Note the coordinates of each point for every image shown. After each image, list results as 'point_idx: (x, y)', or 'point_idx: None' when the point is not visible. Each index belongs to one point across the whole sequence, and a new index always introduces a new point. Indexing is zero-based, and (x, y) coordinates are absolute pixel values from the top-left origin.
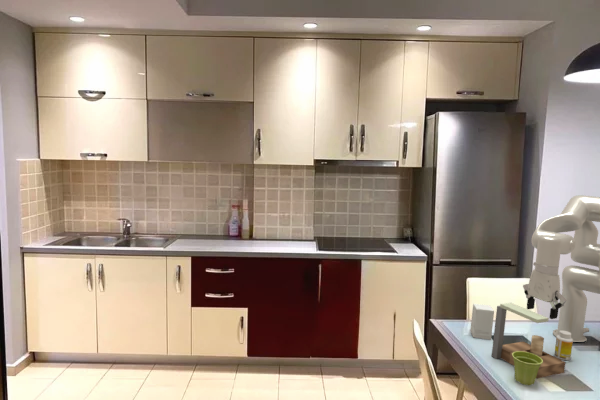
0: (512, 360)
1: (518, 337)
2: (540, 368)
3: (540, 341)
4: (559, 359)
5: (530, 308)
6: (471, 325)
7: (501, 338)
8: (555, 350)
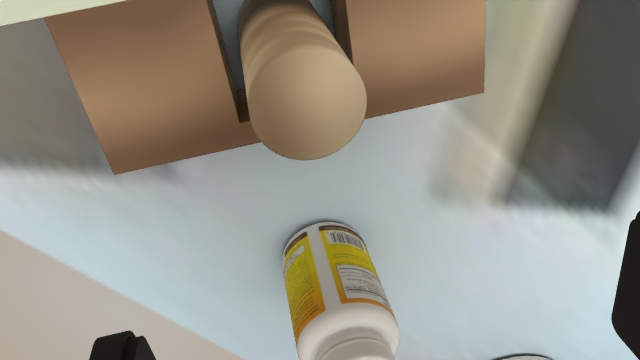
0: None
1: (604, 174)
2: None
3: (249, 89)
4: (159, 159)
5: (631, 263)
6: None
7: None
8: (347, 243)
